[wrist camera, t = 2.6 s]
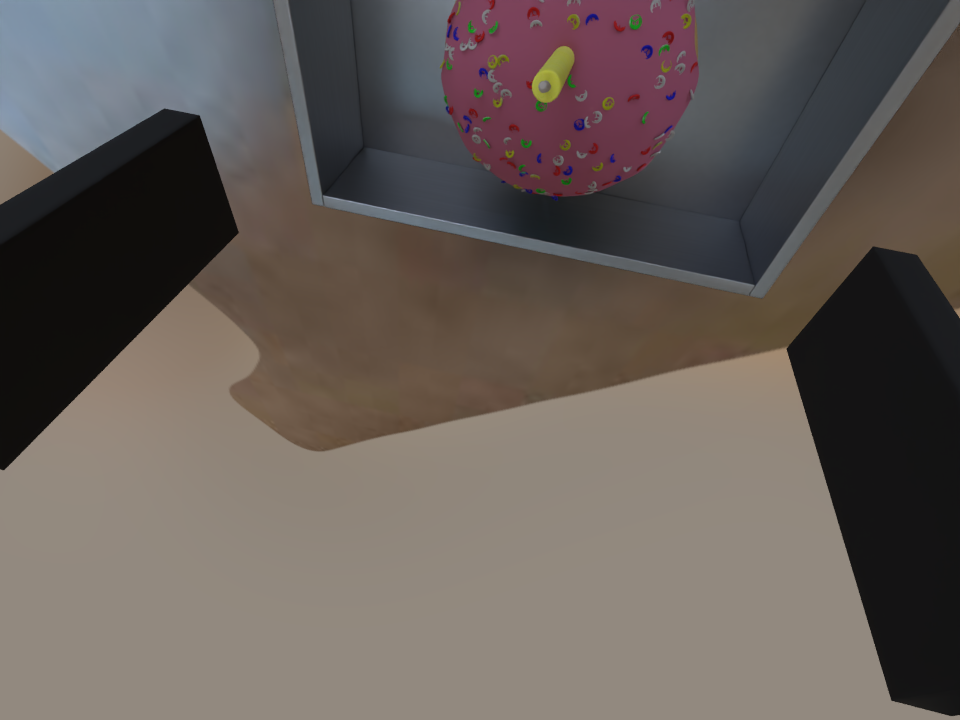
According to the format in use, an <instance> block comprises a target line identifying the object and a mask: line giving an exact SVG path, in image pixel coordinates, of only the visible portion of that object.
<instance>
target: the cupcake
mask: <svg viewBox="0 0 960 720" xmlns="http://www.w3.org/2000/svg"><path fill="white" fill-rule="evenodd" d="M694 4H695V0H456V1H455V4H454V6H453V9H452V11H451V14H450V16H449V18H448V20H447V22H448V24H447V32H446V40H445V53H444V61H443V62H442V64H441V66H440V69H441V68H442V72H441V80H442V86H443V90H444V94H445V96H444V101H445V103H446V104H447V106H446V111H447V113H448V114H450V115H451V116H452V119H453V121H454V123H455V126H456V128H457V130H458V133H459V135H460V137H461V139H462V141H463V143H464V145H465V146H466V148H467V149H468V151H469V152H470V153H471V154H472V155H473V156H474V157H473V160H475V161H477V162H480V163H481V164H482V165H483V166H484V167H485V168H486V169H487V170H489V171H491V172H492V173H493V174H494V175H496V176H497V177H498V178H500V179H501V180H503V181H501V183H508V184H510V185H512V186H513V187H514V188H515V189H523V190H521V191H522V192H525V191H526V192H527V193H529V194H531V193H532V194H541V195H548V196H551V197H552V198H553V199H554V200H555V201H557V200H558V196H579V195H586V194H591V193H594V192H597V191H600V190H603V189H606V188H608V187H610V186H612V185H615V184H617V183H619V182H621V181H623V180H625V179H628V178H630V177H632V176H634V175H636V174H637V173H639V172H640V171H642V170H643V169H644V168H645V167H646V166H647V165H648V164H649V163H650V162H651V161H652V160H653V158H654V157H655V156H656V155H658V154H660V153H661V152H660V149H661V148H662V147H663V145H664V144H665V143H666V141H669V140H671V139H672V138H673V137H674V134H675V133H674V131H673V130H674V128H675V127H676V125H677V123H678V122H679V120H680V118H681V117H682V115H683V113H684V111H685V110H686V108H687V106H688V104H689V102H690V101H691V99H692V100H693V99H694V95H693V94H694V92H695V89H696V87H697V83H698V78H699V66H698V35H697V23H696V16H695V5H694ZM442 66H443V67H442ZM448 108H449V110H448ZM671 133H672V135H671ZM670 135H671V136H670ZM553 196H554V197H553ZM555 197H556V198H555Z"/></svg>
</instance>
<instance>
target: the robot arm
mask: <svg viewBox="0 0 960 720" xmlns="http://www.w3.org/2000/svg"><path fill="white" fill-rule="evenodd" d="M238 233H239V232H238V229H237V226H236V223H235V220H234V217H233V214H232V211H231V208H230V205H229V202H228V199H227V196H226V193H225V190H224V187H223V184H222V181H221V178H220V175H219V172H218V169H217V166H216V163H215V160H214V157H213V154H212V151H211V148H210V145H209V142H208V139H207V136H206V133H205V130H204V127H203V124H202V121H201V118H200V115H195V114H190V113H184V112H179V111H174V110H169V109H163V110H161V111H159V112H158V113H156V114H154V115H153V116H151V117H149V118H148V119H146V120H144V121H142V122H141V123H139V124H137V125H136V126H134V127H132V128H130V129H129V130H127V131H125V132H124V133H122V134H120V135H119V136H117V137H115V138H113V139H112V140H110V141H108V142H107V143H105V144H103V145H101V146H100V147H98V148H96V149H95V150H93V151H91V152H90V153H88V154H86V155H84V156H83V157H81V158H79V159H78V160H76V161H74V162H73V163H71V164H69V165H67V166H66V167H64V168H62V169H61V170H59V171H57V172H55V173H54V174H52V175H50V176H49V177H47V178H45V179H44V180H42V181H40V182H39V183H37V184H35V185H33V186H32V187H30V188H28V189H27V190H25V191H23V192H22V193H20V194H18V195H16V196H15V197H13V198H11V199H10V200H8V201H6V202H4V203H3V204H1V205H0V469H1V470H5V469H6V468H7V467H8V466H9V465H10V464H11V463H12V462H13V461H14V460H15V459H16V458H17V457H18V456H19V455H20V454H21V452H22V451H24V450H25V449H26V448H27V447H28V445H30V443H31V442H32V441H33V440H34V439H35V438H36V437H37V436H38V435H39V434H40V433H41V432H42V431H43V430H44V429H45V428H46V427H47V426H48V425H49V424H50V423H51V422H52V421H53V420H54V419H55V418H56V417H57V416H58V415H59V414H60V413H61V412H62V411H63V410H64V409H65V408H66V407H67V406H68V405H69V404H70V403H71V402H72V401H73V400H74V399H75V398H76V397H77V396H78V395H79V394H80V393H81V392H82V391H83V390H84V389H85V388H86V387H87V386H88V385H89V384H90V383H91V382H92V381H93V379H95V378H96V377H97V375H98V374H100V373H101V371H103V370H104V369H105V367H107V366H108V364H110V362H111V361H113V359H114V358H115V357H116V356H117V355H118V354H119V353H120V352H121V351H122V350H123V349H124V348H125V347H126V346H127V345H128V344H129V343H130V342H131V341H132V340H133V339H134V338H135V337H136V336H137V335H138V334H139V333H140V332H141V331H142V330H143V329H144V328H145V327H146V326H147V325H148V324H149V323H150V322H151V321H152V320H153V319H154V318H155V317H156V316H157V315H158V314H159V313H160V312H161V311H162V310H163V309H164V308H165V307H166V306H167V305H168V304H169V303H170V302H171V301H172V300H173V299H174V298H175V297H176V296H177V295H178V294H179V293H180V291H182V290H183V289H184V288H185V287H186V286H187V285H188V284H189V283H190V282H191V281H192V280H193V279H194V278H195V276H196V275H197V274H198V273H199V272H200V271H201V270H202V269H203V268H204V267H205V266H206V265H207V264H208V263H209V262H210V261H211V260H212V259H213V258H214V257H215V256H216V255H217V254H218V253H219V252H220V251H221V250H222V249H223V248H224V247H225V246H226V245H227V244H228V243H229V242H230V241H231V240H232V239H233V238H234V237H235V236H236V235H237V234H238ZM787 352H788V356H789V359H790V362H791V365H792V369H793V372H794V376H795V379H796V382H797V385H798V389H799V392H800V396H801V399H802V402H803V406H804V409H805V413H806V416H807V419H808V423H809V426H810V429H811V433H812V436H813V439H814V443H815V446H816V449H817V453H818V456H819V459H820V463H821V466H822V469H823V472H824V476H825V480H826V483H827V486H828V489H829V493H830V496H831V499H832V503H833V506H834V509H835V513H836V516H837V520H838V523H839V526H840V530H841V533H842V536H843V540H844V543H845V547H846V549H847V553H848V556H849V560H850V563H851V567H852V570H853V573H854V576H855V580H856V583H857V587H858V590H859V593H860V596H861V600H862V603H863V607H864V610H865V614H866V616H867V620H868V624H869V627H870V630H871V634H872V637H873V640H874V644H875V647H876V650H877V654H878V657H879V661H880V664H881V667H882V670H883V674H884V677H885V680H886V684H887V687H888V691H889V694H890V697H891V700H892V701H895V702H899V703H903V704H907V705H911V706H915V707H918V708H922V709H926V710H930V711H934V712H938V713H941V714H945V715H949V716H955V715H960V318H959V317H958V315H957V314H956V312H955V311H954V309H953V308H952V306H951V305H950V303H949V302H948V300H947V299H946V297H945V296H944V294H943V293H942V291H941V290H940V288H939V287H938V285H937V284H936V282H935V281H934V280H933V278H932V277H931V275H930V274H929V272H928V271H927V269H926V268H925V266H924V265H923V263H922V262H921V260H920V259H919V257H918V256H917V255H914V254H909V253H904V252H899V251H894V250H889V249H883V248H878V247H872V248H871V250H870V251H869V252H868V253H867V254H866V256H865V257H864V258H863V259H862V260H861V261H860V263H859V264H858V265H857V266H856V267H855V269H854V270H853V271H852V272H851V273H850V274H849V276H848V277H847V278H846V279H845V280H844V282H843V283H842V284H841V285H840V286H839V287H838V289H837V290H836V291H835V292H834V293H833V294H832V296H831V297H830V298H829V299H828V300H827V302H826V303H825V304H824V305H823V306H822V307H821V309H820V310H819V311H818V312H817V313H816V315H815V316H814V317H813V318H812V319H811V320H810V322H809V323H808V324H807V325H806V326H805V328H804V329H803V330H802V331H801V332H800V333H799V335H798V336H797V337H796V338H795V339H794V340H793V342H792V343H791V344H790V345H789V346H788V348H787Z"/></svg>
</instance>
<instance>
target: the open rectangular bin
mask: <svg viewBox="0 0 960 720" xmlns="http://www.w3.org/2000/svg"><path fill="white" fill-rule="evenodd" d="M455 1H456V0H273V3H274V8H275V14H276V19H277V24H278V29H279V34H280V40H281V45H282V50H283V55H284V60H285V65H286V71H287V76H288V81H289V86H290V91H291V96H292V102H293V107H294V112H295V117H296V122H297V127H298V133H299V138H300V143H301V148H302V153H303V159H304V164H305V169H306V174H307V179H308V184H309V190H310V195H311V200H312V204H314V205H318V206H325V207H327V208H332V209H336V210H341V211H346V212H351V213H356V214H360V215H365V216H370V217H375V218H379V219H384V220H389V221H394V222H398V223H403V224H408V225H413V226H418V227H422V228H427V229H432V230H437V231H441V232H446V233H451V234H456V235H461V236H465V237H470V238H475V239H480V240H484V241H489V242H494V243H499V244H504V245H508V246H513V247H518V248H523V249H527V250H532V251H537V252H542V253H546V254H551V255H556V256H561V257H566V258H570V259H575V260H580V261H585V262H589V263H594V264H599V265H604V266H609V267H613V268H618V269H623V270H628V271H632V272H637V273H642V274H647V275H652V276H656V277H661V278H666V279H671V280H675V281H680V282H685V283H690V284H695V285H699V286H704V287H709V288H714V289H718V290H723V291H728V292H733V293H737V294H742V295H747V296H748V295H749V296H752V297H757V298H763V297H764V296H765V295H766V293H767V292H768V290H769V289H770V288H771V286H772V285H773V283H774V282H775V281H776V279H777V278H778V276H779V275H780V274H781V272H782V271H783V269H784V268H785V267H786V265H787V264H788V262H789V261H790V260H791V258H792V257H793V255H794V254H795V253H796V251H797V250H798V248H799V247H800V246H801V244H802V243H803V241H804V240H805V239H806V237H807V236H808V234H809V233H810V232H811V230H812V229H813V227H814V226H815V225H816V223H817V222H818V220H819V219H820V218H821V216H822V215H823V213H824V212H825V211H826V209H827V208H828V206H829V205H830V204H831V202H832V201H833V199H834V198H835V197H836V195H837V194H838V192H839V191H840V190H841V188H842V187H843V185H844V184H845V183H846V181H847V180H848V178H849V177H850V176H851V174H852V173H853V171H854V170H855V169H856V167H857V166H858V164H859V163H860V162H861V160H862V159H863V157H864V156H865V155H866V153H867V152H868V150H869V149H870V148H871V146H872V145H873V144H874V142H875V141H876V139H877V138H878V137H879V135H880V134H881V132H882V131H883V130H884V128H885V127H886V125H887V124H888V123H889V121H890V120H891V118H892V117H893V116H894V114H895V113H896V111H897V110H898V109H899V107H900V106H901V104H902V103H903V102H904V100H905V99H906V97H907V96H908V95H909V93H910V92H911V90H912V89H913V88H914V86H915V85H916V83H917V82H918V81H919V79H920V78H921V76H922V75H923V74H924V72H925V71H926V69H927V68H928V67H929V65H930V64H931V62H932V61H933V60H934V58H935V57H936V55H937V54H938V53H939V51H940V50H941V48H942V47H943V46H944V44H945V43H946V41H947V40H948V39H949V37H950V36H951V34H952V33H953V32H954V30H955V29H956V27H957V26H958V25H959V23H960V0H695V4H694V5H695V16H696V23H697V35H698V66H699V78H698V83H697V87H696V89H695V92H694V94H693V95H694V99H693V100H692V99H691V101H690V102H689V104H688V106H687V108H686V110H685V111H684V113H683V115H682V117H681V118H680V120H679V122H678V123H677V125H676V127H675V128H674V130H673V131H674V133H675V134H674V137H673V138H672V139H671V140H669V141H666V143H665V144H664V145H663V147H662V148H661V149H660V152H661V153H660V154H658V155H656V156H655V157H654V158H653V160H652V161H651V162H650V163H649V164H648V165H647V166H646V167H645V168H644V169H643V170H642V171H640V172H639V173H637V174H636V175H634V176H632V177H630V178H628V179H625V180H623V181H621V182H619V183H617V184H615V185H612V186H610V187H608V188H606V189H603V190H600V191H597V192H594V193H591V194H586V195H579V196H558V200H557V201H555V200H554V199H553V198H552V197H551V196H548V195H541V194H532V193H531V194H529V193H527V192H526V191H525V192H522V191H521V190H523V189H515V188H514V187H513V186H512V185H510V184H508V183H501V181H503V180H501V179H500V178H498V177H497V176H496V175H494V174H493V173H492V172H491V171H489V170H487V169H486V168H485V167H484V166H483V165H482V164H481V163H480V162H477V161H475V160H473V157H474V156H473V155H472V154H471V153H470V152H469V151H468V149H467V148H466V146H465V145H464V143H463V141H462V139H461V137H460V135H459V133H458V130H457V128H456V126H455V123H454V121H453V119H452V116H451V115H450V114H448V113H447V111H446V106H447V104H446V103H445V101H444V96H445V94H444V90H443V86H442V80H441V72H442V68H441V69H440V66H441V64H442V62H443V61H444V53H445V40H446V32H447V24H448V22H447V20H448V18H449V16H450V14H451V11H452V9H453V6H454V4H455ZM442 67H443V66H442ZM448 110H449V108H448ZM671 135H672V133H671ZM671 135H670V136H671ZM553 197H554V196H553ZM555 198H556V197H555Z"/></svg>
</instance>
